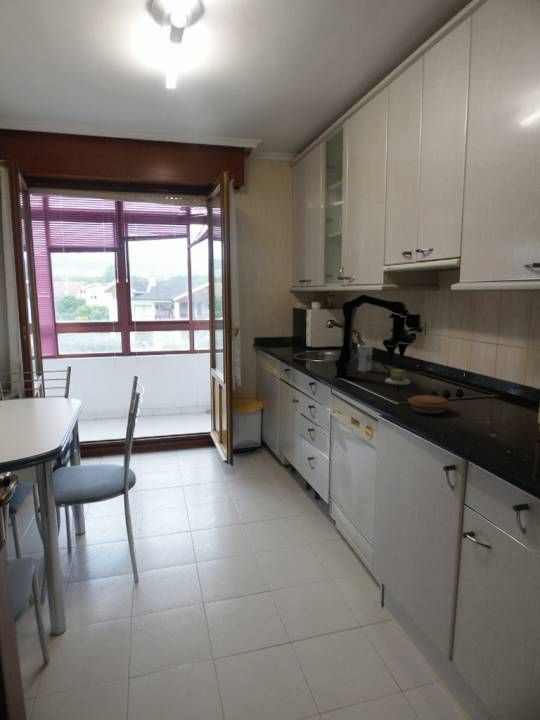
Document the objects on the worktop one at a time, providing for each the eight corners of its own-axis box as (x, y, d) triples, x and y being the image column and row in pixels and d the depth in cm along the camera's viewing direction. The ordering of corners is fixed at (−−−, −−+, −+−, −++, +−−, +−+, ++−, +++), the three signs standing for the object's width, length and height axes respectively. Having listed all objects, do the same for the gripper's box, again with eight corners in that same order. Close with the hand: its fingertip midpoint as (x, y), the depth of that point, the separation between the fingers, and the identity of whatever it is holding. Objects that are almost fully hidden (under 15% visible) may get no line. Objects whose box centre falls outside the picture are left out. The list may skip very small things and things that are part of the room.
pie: (437, 404, 181) (438, 392, 180) (457, 415, 166) (458, 402, 165) (400, 405, 179) (401, 393, 179) (417, 416, 164) (418, 403, 163)
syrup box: (363, 369, 261) (363, 344, 258) (371, 370, 256) (372, 345, 254) (357, 370, 257) (358, 345, 254) (365, 372, 252) (366, 346, 250)
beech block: (399, 381, 221) (400, 371, 220) (390, 380, 224) (391, 370, 223) (404, 380, 224) (405, 370, 223) (395, 378, 228) (396, 368, 227)
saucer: (402, 385, 216) (402, 383, 216) (380, 382, 224) (380, 380, 224) (414, 382, 224) (414, 380, 224) (393, 379, 233) (393, 376, 233)
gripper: (403, 329, 209) (402, 362, 211) (423, 327, 222) (421, 358, 224) (382, 328, 217) (381, 359, 219) (402, 326, 230) (400, 356, 232)
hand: (397, 358), depth 224 cm, fingers open, 9 cm apart
